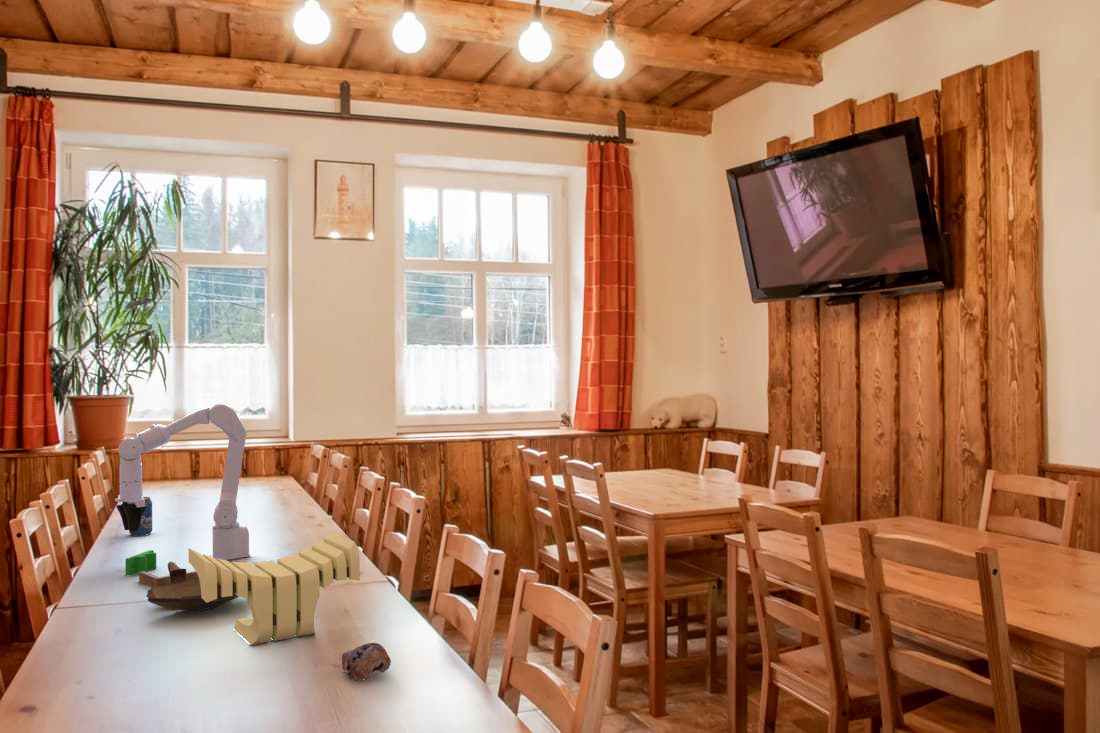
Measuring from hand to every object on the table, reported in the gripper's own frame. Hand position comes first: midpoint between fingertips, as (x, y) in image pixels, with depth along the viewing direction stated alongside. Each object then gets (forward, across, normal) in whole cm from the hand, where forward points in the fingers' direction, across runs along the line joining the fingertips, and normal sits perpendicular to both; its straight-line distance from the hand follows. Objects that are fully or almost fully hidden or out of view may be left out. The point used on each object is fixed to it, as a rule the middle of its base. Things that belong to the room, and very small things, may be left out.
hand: (131, 530), depth 244 cm
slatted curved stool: (+10, +88, -4) cm, 89 cm away
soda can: (+10, -44, +19) cm, 49 cm away
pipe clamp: (+10, +10, -1) cm, 14 cm away
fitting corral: (+9, +27, +3) cm, 29 cm away
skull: (+10, +121, -5) cm, 122 cm away
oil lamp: (+10, +55, -5) cm, 56 cm away
